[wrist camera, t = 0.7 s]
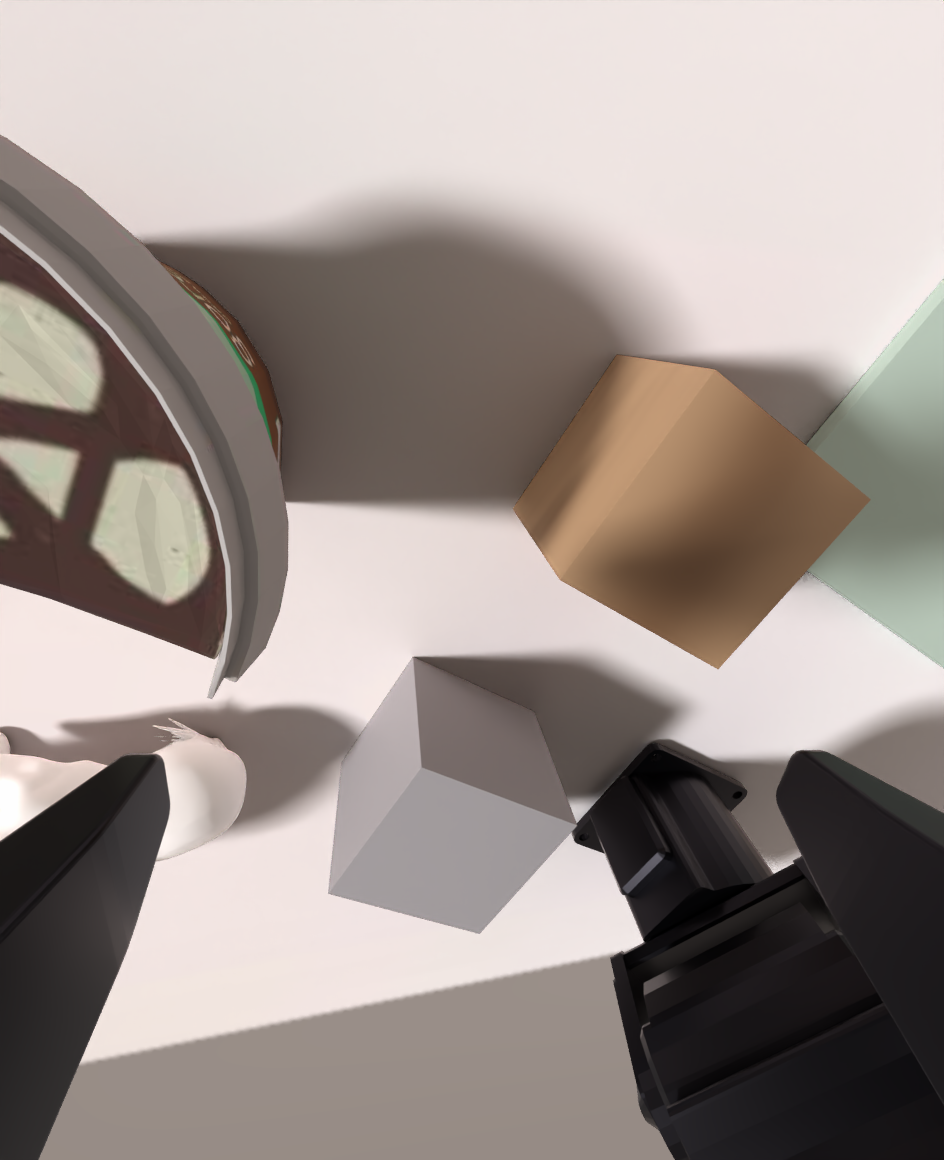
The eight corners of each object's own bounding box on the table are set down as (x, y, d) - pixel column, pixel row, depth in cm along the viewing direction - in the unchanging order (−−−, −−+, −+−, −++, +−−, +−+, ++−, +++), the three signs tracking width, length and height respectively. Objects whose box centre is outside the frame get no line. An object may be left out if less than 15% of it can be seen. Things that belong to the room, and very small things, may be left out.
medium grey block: (533, 710, 24) (577, 825, 18) (459, 803, 25) (479, 933, 20) (412, 655, 22) (421, 767, 16) (341, 761, 23) (328, 893, 18)
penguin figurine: (-390, 1010, 12) (168, 839, 14) (-114, 749, 20) (225, 658, 21) (-189, 1132, 15) (255, 977, 17) (-15, 863, 22) (278, 775, 24)
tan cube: (739, 450, 20) (870, 499, 14) (635, 581, 21) (718, 669, 16) (615, 354, 18) (715, 369, 12) (512, 508, 19) (559, 580, 14)
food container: (397, 353, 17) (409, 392, 8) (312, 522, 19) (242, 710, 10) (-79, 58, 13) (-1207, -572, 4) (-127, 312, 14) (-956, 301, 6)
